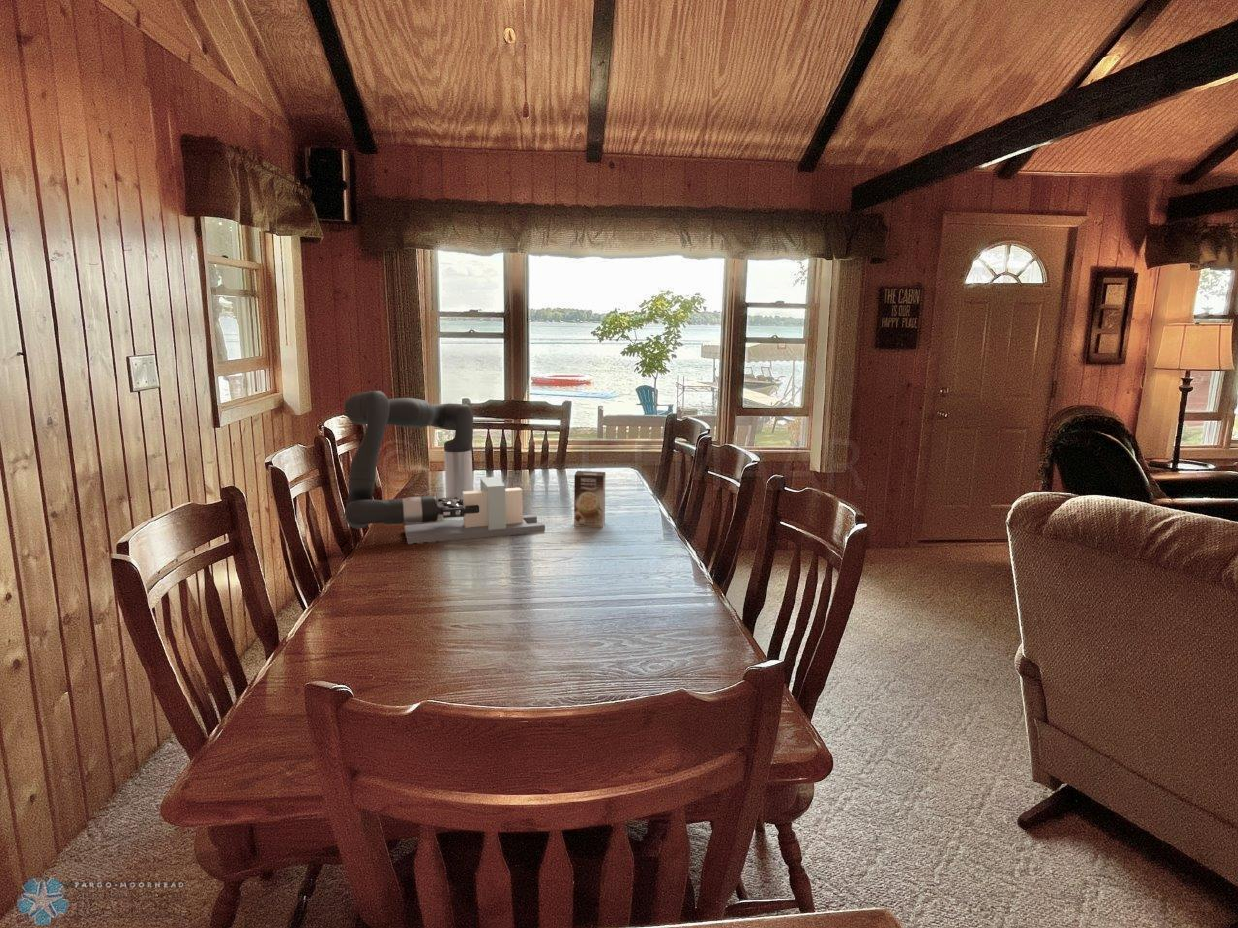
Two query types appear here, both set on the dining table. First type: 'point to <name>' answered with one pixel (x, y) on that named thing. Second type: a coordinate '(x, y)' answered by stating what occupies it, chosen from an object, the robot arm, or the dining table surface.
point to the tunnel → (495, 502)
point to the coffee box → (589, 499)
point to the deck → (467, 530)
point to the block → (480, 498)
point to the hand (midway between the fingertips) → (476, 505)
